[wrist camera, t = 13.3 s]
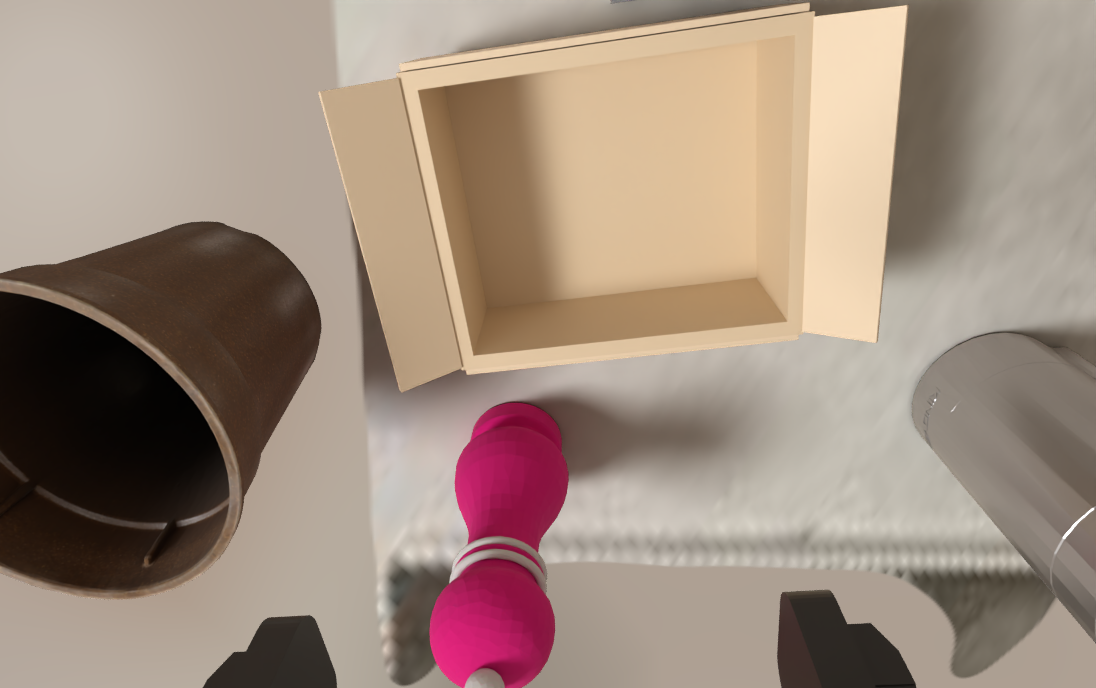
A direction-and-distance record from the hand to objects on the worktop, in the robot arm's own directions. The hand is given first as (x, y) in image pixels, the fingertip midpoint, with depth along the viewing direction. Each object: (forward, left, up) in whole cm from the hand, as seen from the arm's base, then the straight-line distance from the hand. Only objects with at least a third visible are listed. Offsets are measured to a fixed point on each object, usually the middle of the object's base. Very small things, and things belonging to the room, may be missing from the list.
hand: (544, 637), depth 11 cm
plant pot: (+22, +4, -30) cm, 38 cm away
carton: (-3, -1, -30) cm, 30 cm away
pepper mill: (+5, +16, -30) cm, 35 cm away
